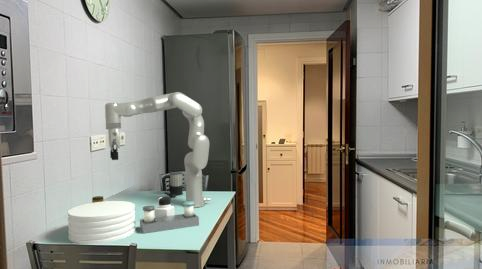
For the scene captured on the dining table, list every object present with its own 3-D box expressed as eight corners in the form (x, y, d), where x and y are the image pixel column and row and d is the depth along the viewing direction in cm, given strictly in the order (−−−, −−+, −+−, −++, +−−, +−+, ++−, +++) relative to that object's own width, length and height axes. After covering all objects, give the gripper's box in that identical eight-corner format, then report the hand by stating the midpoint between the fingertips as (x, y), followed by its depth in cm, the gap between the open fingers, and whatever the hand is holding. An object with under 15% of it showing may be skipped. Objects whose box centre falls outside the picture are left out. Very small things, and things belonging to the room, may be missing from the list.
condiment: (88, 220, 176) (88, 197, 176) (104, 216, 183) (103, 194, 182) (95, 223, 172) (95, 199, 171) (111, 219, 178) (111, 196, 178)
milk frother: (181, 192, 243) (181, 171, 242) (187, 196, 229) (186, 174, 228) (161, 194, 237) (160, 173, 237) (165, 199, 223) (165, 176, 222)
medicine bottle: (174, 219, 175) (174, 196, 175) (167, 223, 169) (166, 199, 168) (162, 218, 178) (161, 195, 177) (154, 222, 171) (154, 198, 170)
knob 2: (192, 214, 171) (192, 200, 171) (195, 217, 166) (195, 202, 166) (182, 216, 169) (182, 201, 169) (185, 218, 164) (185, 204, 164)
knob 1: (153, 220, 163) (153, 205, 163) (155, 222, 158) (155, 207, 158) (142, 221, 161) (142, 206, 161) (144, 224, 156) (143, 209, 156)
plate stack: (83, 225, 169) (82, 201, 169) (141, 222, 171) (140, 200, 171) (56, 245, 142) (55, 217, 141) (126, 242, 144) (126, 215, 143)
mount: (193, 220, 173) (193, 212, 173) (199, 225, 165) (198, 217, 165) (139, 228, 162) (139, 219, 162) (143, 233, 154) (142, 224, 154)
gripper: (122, 126, 175) (123, 160, 176) (119, 126, 191) (120, 157, 192) (106, 126, 172) (107, 161, 173) (104, 126, 188) (105, 157, 189)
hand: (114, 158), depth 182 cm, fingers open, 9 cm apart
